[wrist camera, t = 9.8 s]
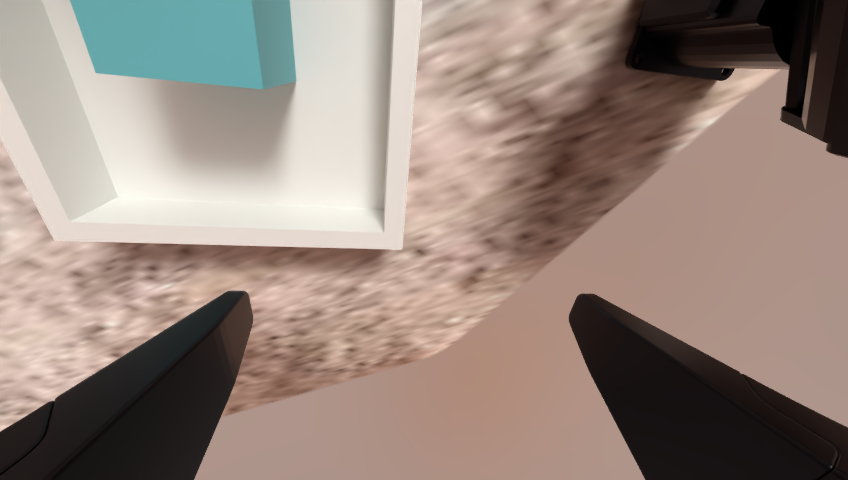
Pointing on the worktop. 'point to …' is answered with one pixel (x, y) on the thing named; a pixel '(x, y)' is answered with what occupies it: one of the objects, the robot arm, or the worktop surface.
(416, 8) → the grey tray
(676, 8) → the robot arm
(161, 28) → the teal block
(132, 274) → the worktop surface
